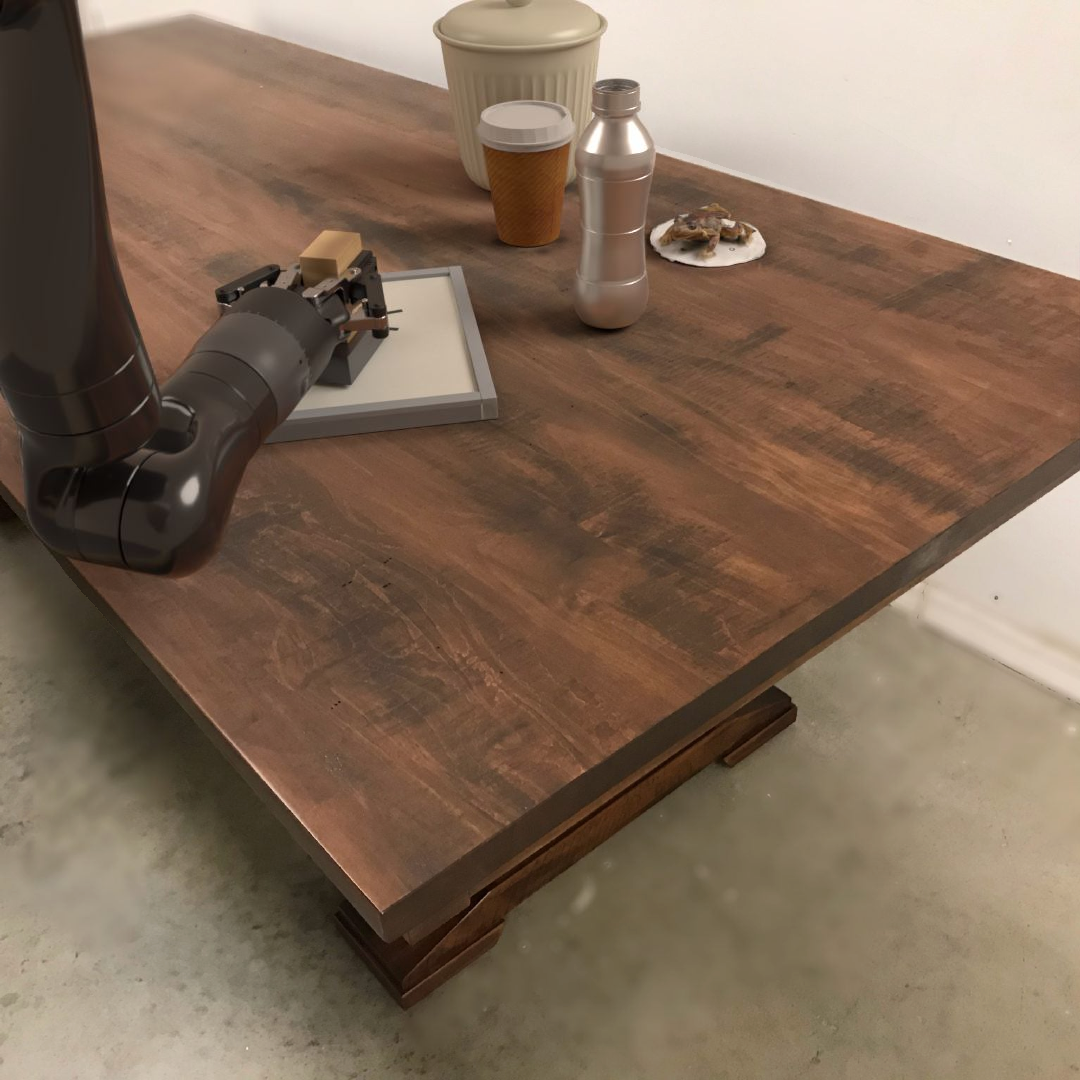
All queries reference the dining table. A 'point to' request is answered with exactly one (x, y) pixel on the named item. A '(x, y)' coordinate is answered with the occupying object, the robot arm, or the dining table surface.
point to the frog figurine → (707, 239)
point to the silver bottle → (613, 207)
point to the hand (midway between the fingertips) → (347, 259)
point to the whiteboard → (407, 366)
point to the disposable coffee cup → (527, 167)
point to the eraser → (354, 353)
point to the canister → (518, 64)
